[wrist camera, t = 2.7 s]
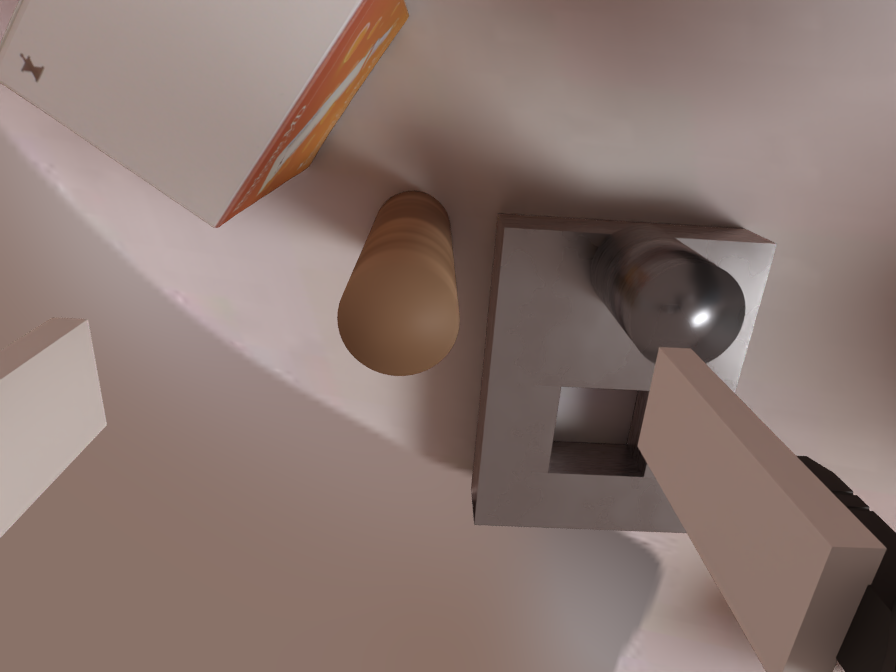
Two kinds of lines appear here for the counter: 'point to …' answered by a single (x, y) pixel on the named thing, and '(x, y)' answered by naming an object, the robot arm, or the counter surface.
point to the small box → (199, 84)
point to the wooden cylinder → (403, 289)
